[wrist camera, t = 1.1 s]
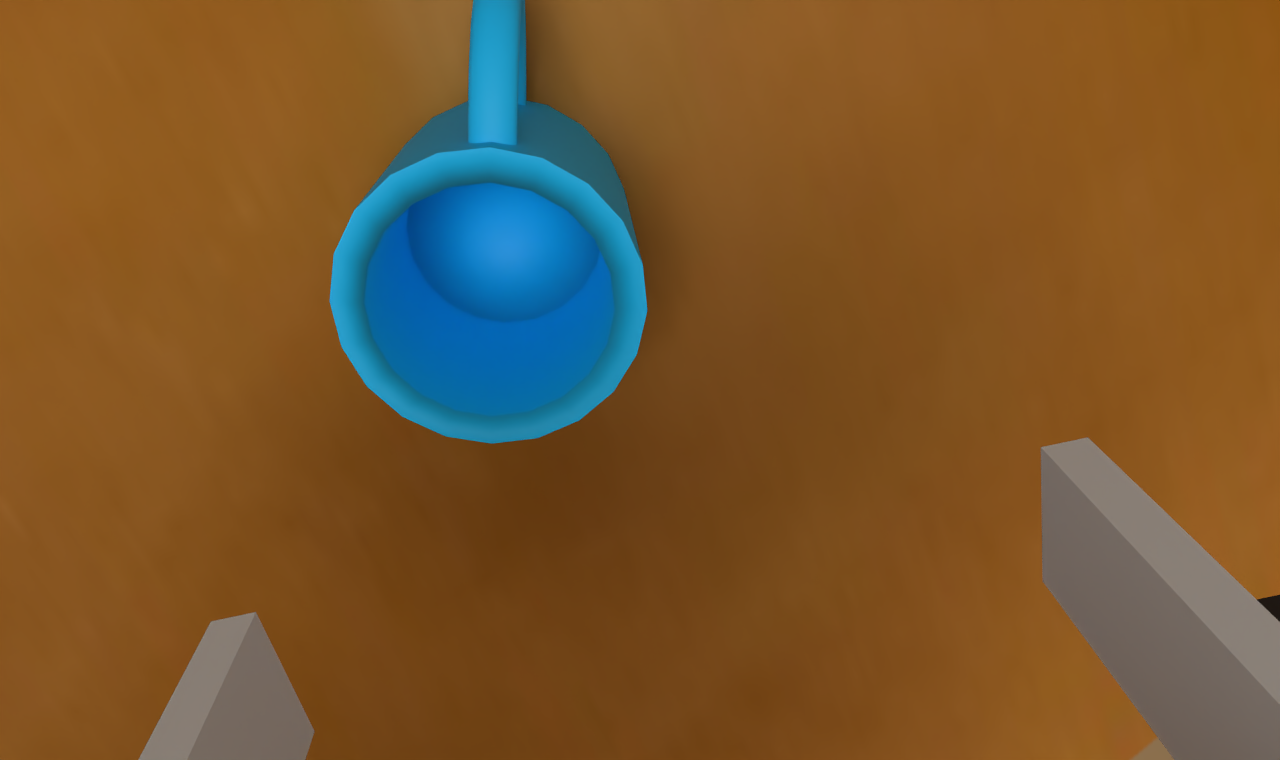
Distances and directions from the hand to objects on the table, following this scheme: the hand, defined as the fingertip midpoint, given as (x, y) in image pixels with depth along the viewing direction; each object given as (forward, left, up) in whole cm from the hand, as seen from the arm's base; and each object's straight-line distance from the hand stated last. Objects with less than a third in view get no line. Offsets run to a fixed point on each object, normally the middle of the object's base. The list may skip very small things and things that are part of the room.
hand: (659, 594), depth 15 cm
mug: (-3, +3, -19) cm, 19 cm away
